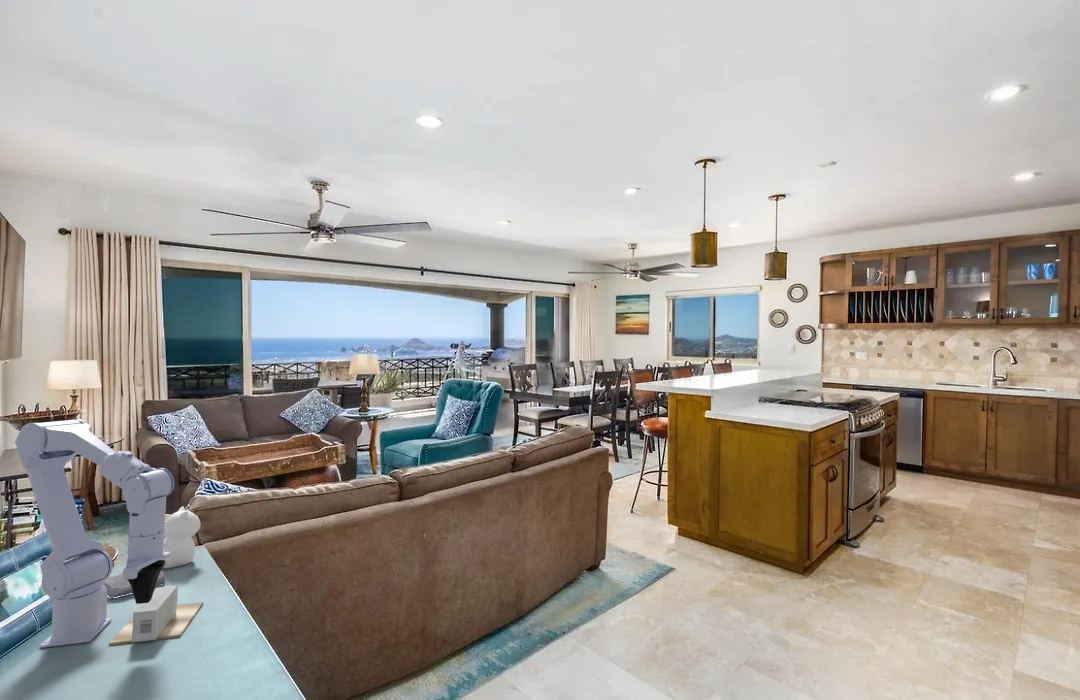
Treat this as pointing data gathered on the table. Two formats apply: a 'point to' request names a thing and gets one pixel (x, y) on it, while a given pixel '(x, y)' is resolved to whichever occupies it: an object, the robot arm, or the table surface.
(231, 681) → the table surface
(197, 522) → the cat figurine
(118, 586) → the stone block
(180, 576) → the table surface
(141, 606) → the skincare box
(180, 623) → the birch board
